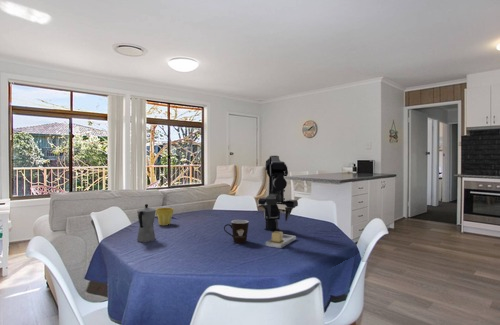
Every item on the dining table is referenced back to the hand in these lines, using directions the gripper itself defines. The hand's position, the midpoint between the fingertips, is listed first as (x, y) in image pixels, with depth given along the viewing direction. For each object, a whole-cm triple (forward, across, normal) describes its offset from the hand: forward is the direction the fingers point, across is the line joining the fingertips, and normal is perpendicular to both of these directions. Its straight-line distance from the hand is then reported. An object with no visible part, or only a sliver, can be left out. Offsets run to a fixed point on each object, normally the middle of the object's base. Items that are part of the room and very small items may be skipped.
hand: (277, 220), depth 141 cm
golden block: (+12, 0, -1) cm, 12 cm away
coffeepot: (+12, -59, -30) cm, 67 cm away
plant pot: (+12, -79, +2) cm, 80 cm away
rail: (+12, 0, +4) cm, 12 cm away
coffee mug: (+12, -19, -6) cm, 24 cm away
